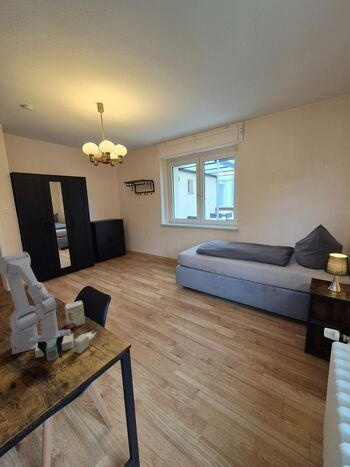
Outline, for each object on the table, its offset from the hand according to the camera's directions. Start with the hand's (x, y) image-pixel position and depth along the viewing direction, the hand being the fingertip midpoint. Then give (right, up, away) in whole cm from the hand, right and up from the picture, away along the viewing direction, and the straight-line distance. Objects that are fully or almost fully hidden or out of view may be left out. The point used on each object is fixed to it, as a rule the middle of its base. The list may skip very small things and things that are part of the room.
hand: (53, 354), depth 84 cm
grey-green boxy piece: (-1, -1, +3) cm, 3 cm away
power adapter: (+11, 0, +7) cm, 13 cm away
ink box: (-2, +2, +23) cm, 23 cm away
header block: (-2, -1, +5) cm, 6 cm away
